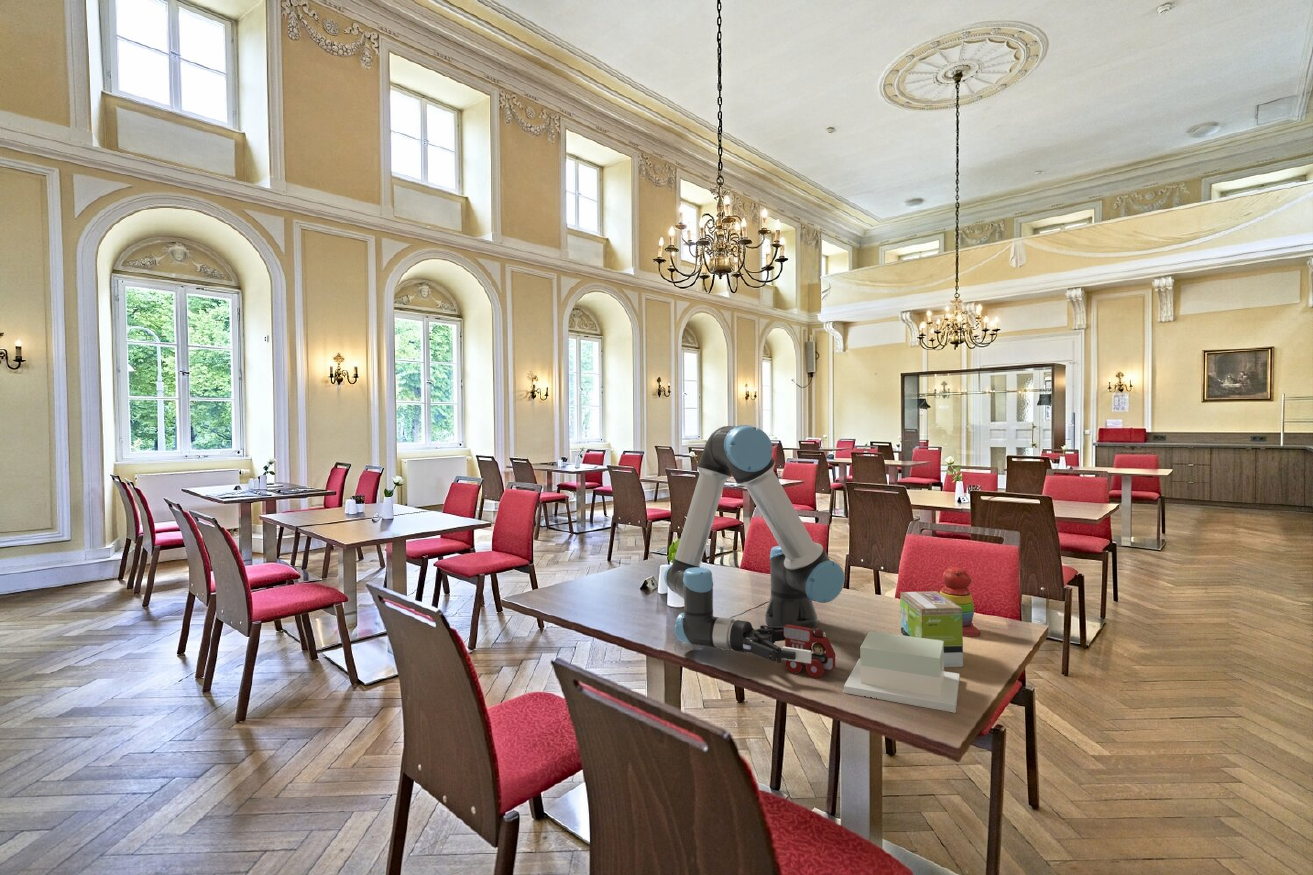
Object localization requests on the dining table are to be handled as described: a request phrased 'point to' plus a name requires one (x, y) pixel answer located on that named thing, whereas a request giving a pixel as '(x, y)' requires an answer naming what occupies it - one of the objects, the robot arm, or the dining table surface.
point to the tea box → (934, 622)
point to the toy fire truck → (804, 640)
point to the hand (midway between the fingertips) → (818, 647)
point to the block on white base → (904, 672)
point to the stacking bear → (960, 597)
